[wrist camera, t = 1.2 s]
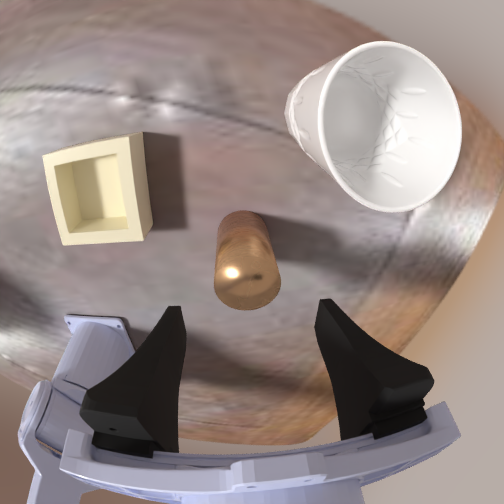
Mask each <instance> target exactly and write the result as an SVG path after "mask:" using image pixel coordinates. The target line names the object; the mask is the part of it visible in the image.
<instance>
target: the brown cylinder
mask: <svg viewBox="0 0 504 504" xmlns="http://www.w3.org/2000/svg"><path fill="white" fill-rule="evenodd" d="M280 287H281V278H280V274H279V270H278V267H277V263H276V259H275V256H274V252H273V249H272V245H271V242H270V238H269V235H268V231H267V228H266V225H265V223H264V221H263V220H262V218H261V217H260V216H258V215H257V214H255V213H253V212H250V211H236V212H233V213H231V214H229V215H227V216H226V217H225V218H224V219H223V220H222V222H221V223H220V225H219V228H218V237H217V249H216V262H215V276H214V289H215V292H216V295H217V296H218V298H219V299H220V300H221V301H222V302H223V303H224V304H226V305H227V306H229V307H231V308H234V309H238V310H254V309H258V308H261V307H263V306H265V305H267V304H269V303H270V302H271V301H272V300H273V299H274V298H275V297H276V296H277V294H278V292H279V290H280Z"/></svg>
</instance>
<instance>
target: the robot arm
mask: <svg viewBox="0 0 504 504" xmlns="http://www.w3.org/2000/svg"><path fill="white" fill-rule="evenodd" d="M64 320H65V322H66V324H67V325H68V327H69V329H70V331H71V333H72V337H71V339H70V341H69V343H68V345H67V347H66V349H65V351H64V354H63V356H62V358H61V360H60V363H59V365H58V367H57V369H56V372H55V374H54V377H53V379H52V381H51V382H50V381H48V380H44V381H39V382H38V383H37V385H36V386H35V388H34V389H33V391H32V393H31V395H30V397H29V399H28V401H27V404H26V406H25V409H24V412H23V416H22V420H21V425H20V428H19V431H18V438H19V444H20V446H21V448H22V450H23V452H24V453H25V455H26V456H27V458H28V459H29V461H30V463H31V464H32V465H33V467H34V468H35V473H34V477H33V481H32V484H31V488H30V492H29V496H28V501H27V504H79V502H80V498H81V495H82V494H83V493H85V492H89V491H93V490H97V489H101V488H103V489H106V490H110V491H113V492H117V493H121V494H125V495H129V496H133V497H137V498H142V499H147V500H152V501H158V502H163V503H170V504H365V503H364V499H363V495H362V491H361V487H362V486H365V485H368V484H370V483H373V482H376V481H379V480H381V479H384V478H386V477H389V476H391V475H394V474H396V473H398V472H401V471H403V470H405V469H407V468H410V467H412V466H414V465H416V464H418V463H420V462H422V461H424V460H427V459H429V458H430V457H433V456H435V455H436V454H438V453H439V452H441V451H442V450H444V449H445V448H446V447H448V446H449V445H450V444H452V443H453V442H454V441H456V440H457V439H458V438H460V437H461V434H460V432H459V429H458V427H457V425H456V423H455V421H454V419H453V417H452V415H451V412H450V410H449V408H448V406H447V404H446V402H441V403H439V404H437V405H434V406H432V407H430V408H428V409H427V410H424V408H423V406H424V405H425V402H424V400H423V398H424V397H425V396H426V395H427V393H428V392H429V391H430V390H431V388H432V387H433V384H434V379H433V377H432V375H431V373H430V371H429V370H428V368H427V367H425V366H423V365H420V364H417V363H415V362H412V361H410V360H408V359H406V358H404V357H402V356H400V355H398V354H396V353H394V352H393V351H391V350H389V349H388V348H386V347H384V346H383V345H381V344H380V343H379V342H377V341H376V340H375V339H373V338H372V337H371V336H369V335H368V334H367V333H366V332H365V331H363V330H362V329H361V328H360V327H359V326H358V325H357V324H356V323H354V322H353V321H352V320H351V319H350V318H349V317H348V316H347V315H346V314H345V313H344V312H343V311H342V310H341V309H340V308H339V306H338V305H337V304H336V303H335V302H334V301H333V300H332V299H320V301H319V307H318V312H317V317H316V322H315V326H314V328H315V332H316V337H317V342H318V345H319V348H320V351H321V354H322V356H323V359H324V362H325V365H326V367H327V370H328V373H329V376H330V379H331V383H332V387H333V392H334V396H335V402H336V407H337V413H338V420H339V427H340V436H341V441H338V442H334V443H329V444H324V445H319V446H314V447H307V448H301V449H294V450H286V451H277V452H267V453H254V454H231V455H206V454H184V453H183V454H182V453H179V446H178V396H179V385H180V379H181V374H182V368H183V362H184V357H185V351H186V334H187V333H186V329H185V325H184V320H183V316H182V311H181V306H169V307H168V308H167V309H166V311H165V312H164V314H163V316H162V317H161V319H160V320H159V322H158V323H157V325H156V326H155V327H154V329H153V330H152V332H151V333H150V335H149V336H148V337H147V338H146V340H145V341H144V342H143V343H142V345H141V346H140V347H139V348H138V349H137V351H136V352H135V350H134V348H133V345H132V343H131V341H130V338H129V336H128V334H127V331H126V329H125V326H124V324H123V321H122V320H121V319H120V318H109V317H90V316H75V315H65V317H64ZM119 325H120V326H119ZM36 439H38V440H40V441H41V442H43V443H45V444H47V445H48V446H50V447H52V448H54V449H56V450H58V451H59V452H61V453H62V455H60V454H58V453H56V452H54V451H53V450H51V449H49V448H47V447H45V446H44V445H42V444H40V443H39V442H38V441H36Z"/></svg>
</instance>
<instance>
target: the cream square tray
mask: <svg viewBox="0 0 504 504" xmlns="http://www.w3.org/2000/svg"><path fill="white" fill-rule="evenodd" d="M43 162H44V168H45V174H46V179H47V184H48V189H49V194H50V198H51V203H52V207H53V211H54V215H55V219H56V223H57V226H58V230H59V233H60V237H61V240H62V243H63V245H78V244H95V243H112V242H130V241H144V239H145V238H146V236H147V234H148V232H149V231H150V229H151V227H152V225H153V217H152V211H151V204H150V197H149V189H148V181H147V173H146V164H145V153H144V142H143V132H139V133H132V134H126V135H120V136H114V137H109V138H104V139H99V140H94V141H89V142H85V143H80V144H76V145H72V146H68V147H64V148H61V149H58V150H56V151H53V152H51V153H48V154H45V155H43Z"/></svg>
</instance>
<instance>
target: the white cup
mask: <svg viewBox="0 0 504 504" xmlns="http://www.w3.org/2000/svg"><path fill="white" fill-rule="evenodd" d="M284 115H285V119H286V122H287V126H288V130H289V133H290V135H291V136H292V137H293V138H294V140H295V141H296V142H297V143H298V144H299V146H300V147H301V148H302V150H303V151H304V152H305V153H306V154H307V155H308V156H309V157H310V158H311V159H312V160H313V161H314V162H315V163H316V164H317V165H318V166H319V167H320V168H322V169H323V170H324V171H325V172H326V173H327V174H328V175H329V176H330V177H331V178H332V179H333V180H335V181H336V182H337V183H338V184H339V185H340V186H341V187H342V188H343V189H344V190H345V191H346V192H347V193H348V194H349V195H350V196H351V197H352V198H354V199H355V200H356V201H358V202H359V203H361V204H363V205H365V206H367V207H369V208H371V209H374V210H377V211H381V212H388V213H398V212H405V211H409V210H413V209H415V208H418V207H420V206H422V205H424V204H425V203H427V202H428V201H430V200H431V199H432V198H434V197H435V196H436V195H437V194H438V193H439V192H440V191H441V190H442V188H443V187H444V186H445V185H446V183H447V182H448V180H449V178H450V177H451V175H452V173H453V171H454V169H455V166H456V163H457V161H458V157H459V153H460V148H461V140H462V124H461V116H460V111H459V107H458V103H457V100H456V97H455V95H454V92H453V90H452V88H451V86H450V84H449V83H448V81H447V79H446V78H445V76H444V75H443V74H442V72H441V71H440V70H439V69H438V67H437V66H436V65H435V64H434V63H433V62H432V61H431V60H429V59H428V58H427V57H426V56H424V55H423V54H422V53H420V52H418V51H417V50H415V49H413V48H411V47H409V46H406V45H403V44H400V43H396V42H389V41H377V42H370V43H366V44H363V45H360V46H358V47H356V48H354V49H352V50H350V51H348V52H346V53H344V54H342V55H340V56H338V57H337V58H335V59H333V60H331V61H329V62H327V63H325V64H323V65H322V66H320V67H318V68H317V69H316V70H314V71H312V72H311V73H310V74H308V75H307V76H306V77H305V78H303V79H301V80H300V81H299V82H298V83H297V85H296V86H295V87H294V88H293V89H292V91H291V92H290V93H289V94H288V98H287V103H286V108H285V112H284Z"/></svg>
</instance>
